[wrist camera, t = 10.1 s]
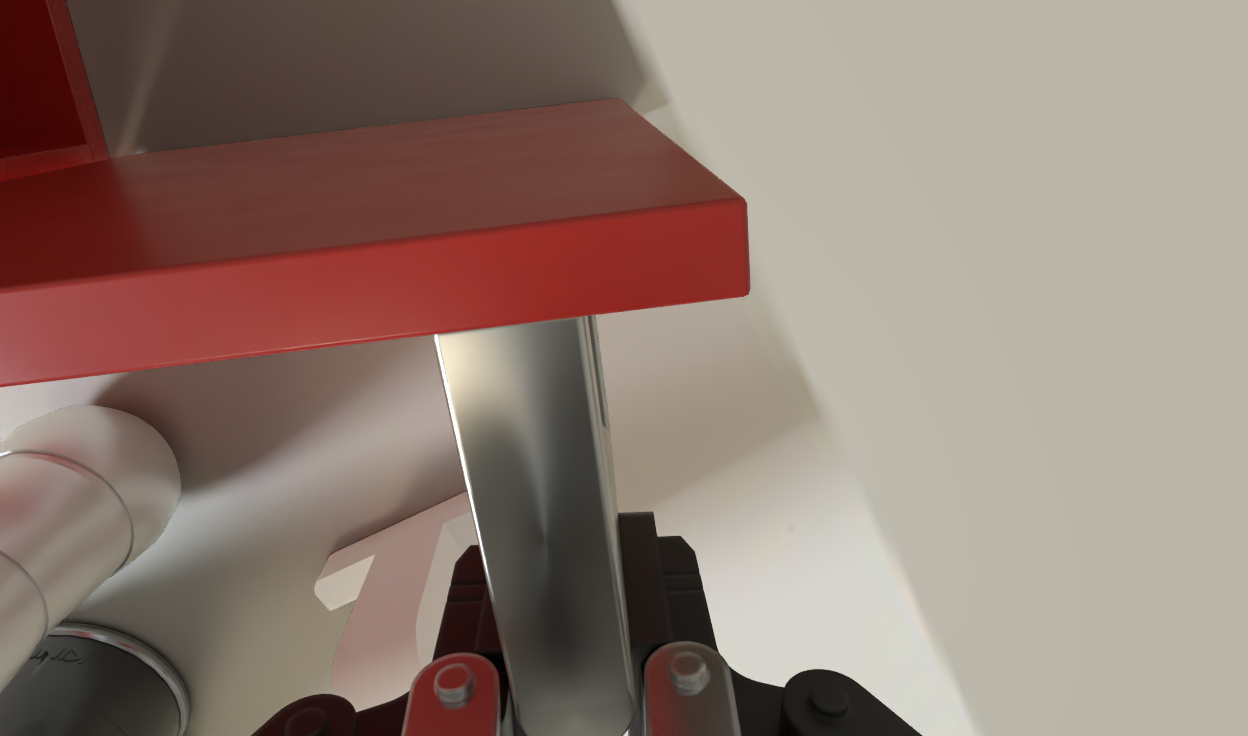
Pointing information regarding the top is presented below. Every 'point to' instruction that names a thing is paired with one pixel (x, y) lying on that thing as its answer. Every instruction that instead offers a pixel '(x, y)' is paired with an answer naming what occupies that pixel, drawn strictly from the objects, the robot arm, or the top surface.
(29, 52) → the red upright rectangular box
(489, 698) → the robot arm
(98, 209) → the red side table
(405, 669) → the cable organizer
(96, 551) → the plastic bottle
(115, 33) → the top surface
